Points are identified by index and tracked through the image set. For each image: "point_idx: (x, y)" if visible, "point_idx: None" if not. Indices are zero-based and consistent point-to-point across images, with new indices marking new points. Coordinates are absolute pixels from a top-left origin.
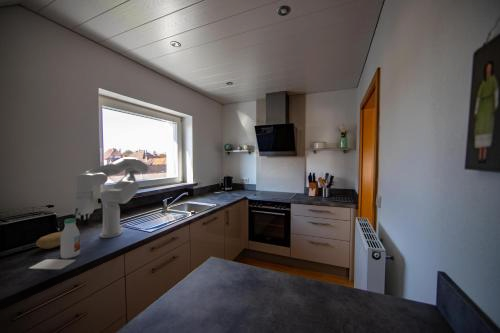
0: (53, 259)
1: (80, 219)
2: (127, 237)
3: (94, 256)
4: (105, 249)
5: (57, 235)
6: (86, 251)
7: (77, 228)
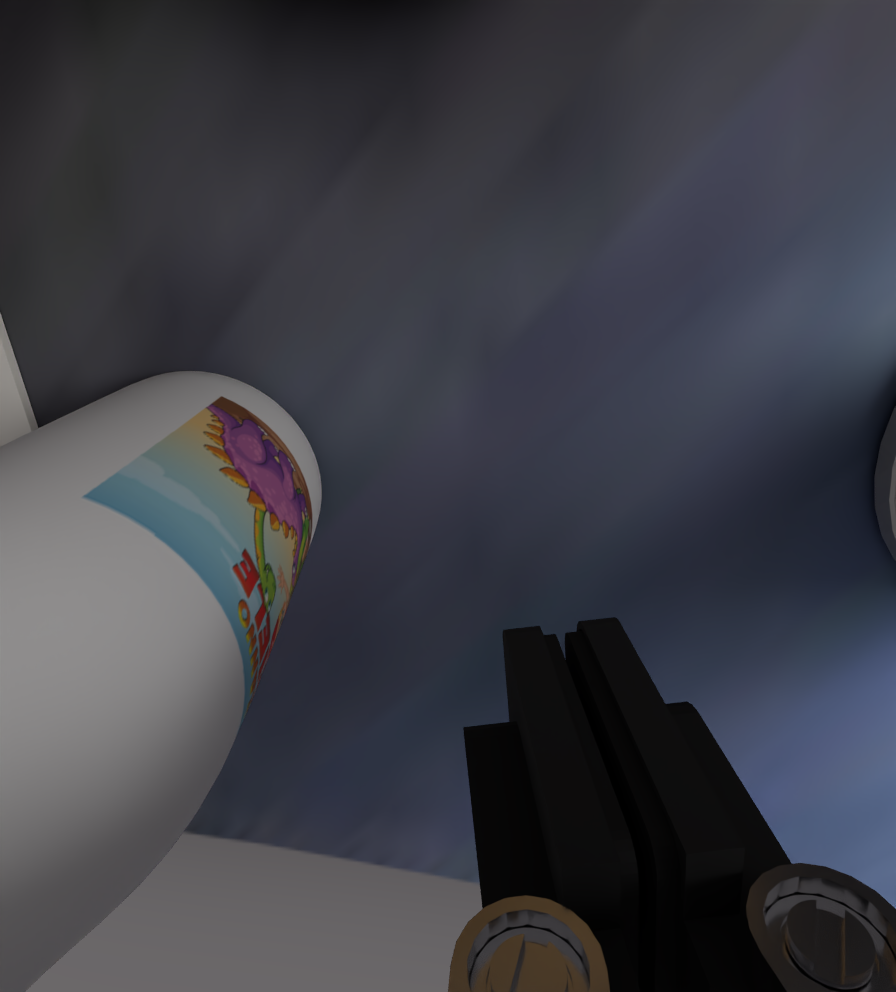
0: (11, 375)
1: (472, 952)
2: (875, 763)
3: (270, 785)
4: (466, 765)
5: None
6: (369, 586)
7: (66, 951)
